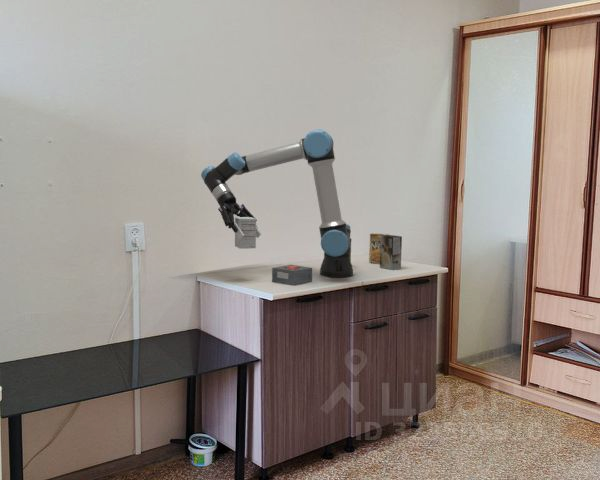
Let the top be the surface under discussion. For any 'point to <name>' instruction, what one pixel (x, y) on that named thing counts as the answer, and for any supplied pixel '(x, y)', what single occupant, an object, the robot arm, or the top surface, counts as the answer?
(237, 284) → the top surface
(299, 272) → the grey button housing
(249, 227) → the supplement box
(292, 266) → the button
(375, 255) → the candy box
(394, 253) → the coffee box
